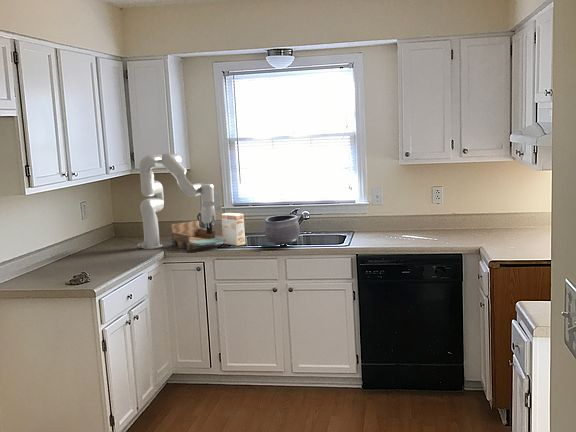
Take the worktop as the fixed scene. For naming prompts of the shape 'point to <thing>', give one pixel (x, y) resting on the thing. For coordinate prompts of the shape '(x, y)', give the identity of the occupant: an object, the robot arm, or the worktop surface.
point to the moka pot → (201, 222)
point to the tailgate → (207, 241)
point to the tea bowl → (282, 229)
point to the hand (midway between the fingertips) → (209, 233)
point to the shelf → (189, 235)
